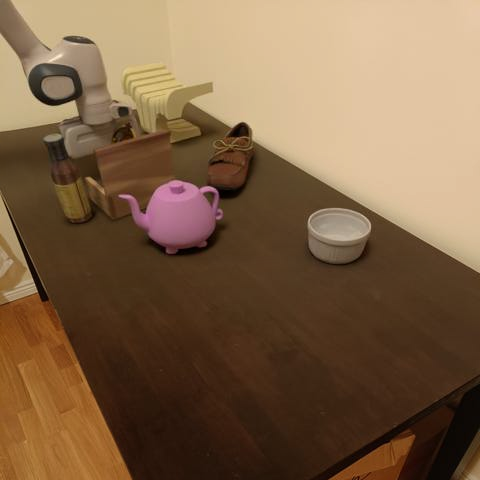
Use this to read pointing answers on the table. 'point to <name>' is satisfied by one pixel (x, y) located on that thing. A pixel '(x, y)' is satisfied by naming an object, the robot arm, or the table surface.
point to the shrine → (124, 133)
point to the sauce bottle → (67, 181)
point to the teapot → (178, 215)
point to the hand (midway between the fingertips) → (108, 164)
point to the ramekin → (337, 235)
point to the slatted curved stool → (161, 99)
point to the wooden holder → (131, 172)
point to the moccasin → (231, 159)
